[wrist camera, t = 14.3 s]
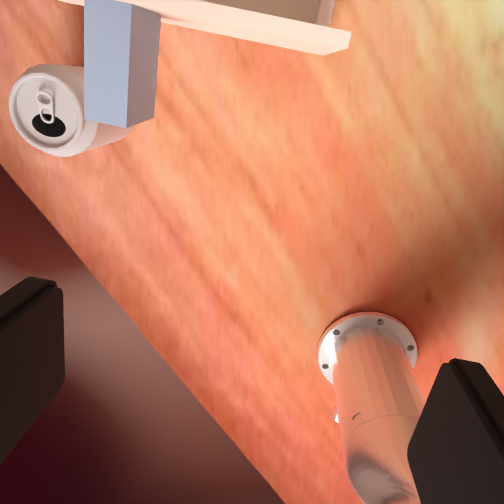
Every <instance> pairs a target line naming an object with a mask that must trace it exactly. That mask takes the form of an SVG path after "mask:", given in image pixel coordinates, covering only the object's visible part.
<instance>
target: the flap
mask: <svg viewBox="0 0 504 504" xmlns="http://www.w3.org/2000/svg"><path fill="white" fill-rule="evenodd" d="M60 1H63V2H67V3H71V4H76V5H81V6H84V119H85V120H90V121H94V122H99V123H104V124H109V125H113V126H118V127H123V128H128V127H131V126H133V125H136V124H138V123H141V122H144V121H146V120H149V119H151V118H154V106H155V93H156V79H157V65H158V52H159V38H160V24H161V22H163V23H168V24H173V25H178V26H182V27H187V28H192V29H197V30H202V31H207V32H211V33H216V34H221V35H226V36H231V37H235V38H240V39H245V40H250V41H255V42H260V43H264V44H269V45H274V46H279V47H284V48H289V49H293V50H298V51H303V52H308V53H313V54H318V55H322V56H323V55H326V54H330V53H333V52H337V51H340V50H344V49H347V48H348V45H349V41H350V37H351V33H352V32H350V31H345V30H340V29H335V28H331V27H326V26H321V25H316V24H311V23H306V22H302V21H297V20H292V19H287V18H282V17H277V16H272V15H268V14H263V13H258V12H253V11H248V10H243V9H239V8H234V7H229V6H224V5H219V4H214V3H210V2H205V1H200V0H60Z"/></svg>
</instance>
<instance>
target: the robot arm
mask: <svg viewBox="0 0 504 504" xmlns="http://www.w3.org/2000/svg"><path fill="white" fill-rule="evenodd" d="M335 329H336V330H335ZM417 353H418V351H417V346H416V342H415V340H414V338H413V336H412V334H411V332H410V331H409V329H408V328H407V327H406V326H405V325H404V324H403V323H402V322H400V321H399V320H397V319H396V318H394V317H392V316H389V315H387V314H383V313H379V312H358V313H354V314H350V315H347V316H345V317H343V318H340V319H339V320H337V321H336V322H334V323H333V324H332V325H331V326H330V327H328V328H327V329H326V331H325V332H324V334H323V335H322V337H321V339H320V341H319V344H318V349H317V356H318V364H319V367H320V370H321V372H322V374H323V375H324V377H325V378H326V379H327V380H328V381H329V382H330V383H331V384H332V385H333V386H334V393H335V400H336V407H335V410H334V412H333V415H332V416H333V419H334V420H335V421H336V422H337V423H339V427H340V434H341V441H342V448H343V455H344V462H345V468H346V472H347V476H348V478H349V481H350V483H351V485H352V487H353V488H354V490H355V492H356V493H357V495H358V496H359V497H360V499H361V500H362V501H363V502H364V504H504V395H503V394H502V393H501V391H500V390H499V388H498V387H497V385H496V384H495V383H494V381H493V380H492V378H491V377H490V375H489V374H488V373H487V371H486V370H485V368H484V367H483V366H482V365H481V364H480V363H477V362H472V361H467V360H461V359H456V358H454V359H452V360H451V361H449V363H443V364H442V365H441V367H440V369H439V372H438V374H437V377H436V379H435V382H434V384H433V386H432V389H431V391H430V394H429V396H428V398H427V399H426V397H425V395H424V393H423V390H422V388H421V386H420V383H419V381H418V379H417V376H416V374H415V372H414V367H415V364H416V361H417ZM64 378H65V363H64V319H63V292H62V289H60V288H57V284H56V282H54V281H52V280H47V279H42V278H36V277H28V278H26V279H24V280H23V281H21V282H20V283H18V284H17V285H15V286H14V287H12V288H11V289H9V290H8V291H6V292H5V293H3V294H2V295H0V464H1V463H2V462H3V460H4V459H5V458H6V457H7V455H8V454H9V453H10V452H11V450H12V449H13V448H14V447H15V445H16V444H17V443H18V442H19V440H20V439H21V438H22V437H23V435H24V434H25V433H26V432H27V430H28V429H29V428H30V427H31V425H32V424H33V423H34V422H35V420H36V419H37V418H38V417H39V415H40V414H41V413H42V412H43V410H44V409H45V408H46V407H47V405H48V404H49V403H50V402H51V401H52V399H53V398H54V397H55V395H56V394H57V393H58V392H59V390H60V389H61V387H62V385H63V382H64Z"/></svg>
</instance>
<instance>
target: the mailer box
mask: <svg viewBox="0 0 504 504" xmlns="http://www.w3.org/2000/svg"><path fill="white" fill-rule="evenodd" d="M200 1H205V2H210V3H214V4H219V5H224V6H229V7H234V8H239V9H243V10H248V11H253V12H258V13H263V14H268V15H272V16H277V17H282V18H287V19H292V20H297V21H302V22H306V23H311V24H316V25H321V26H326V27H329V26H330V22H331V18H332V13H333V9H334V5H335V0H200Z"/></svg>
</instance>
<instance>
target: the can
mask: <svg viewBox="0 0 504 504" xmlns="http://www.w3.org/2000/svg"><path fill="white" fill-rule="evenodd" d="M8 107H9V111H10V116H11V120H12V122H13V124H14V126H15V128H16V130H17V131H18V132H19V134H20V135H21V136H22V137H23V138H24V139H25V140H26V141H27V142H28V143H30V144H31V145H33V146H34V147H36V148H38V149H40V150H42V151H43V152H46V153H48V154H51V155H54V156H66V157H70V156H73V155H76V154H79V153H82V152H85V151H88V150H91V149H94V148H97V147H100V146H103V145H106V144H109V143H112V142H115V141H118V140H121V139H123V138H124V137H125V136H126V135H128V134H129V133H130V132H131V130H132V128H133V126H134V125H133V126H131V127H128V128H123V127H118V126H113V125H109V124H104V123H99V122H94V121H90V120H85V119H84V66H71V65H59V64H39V65H36V66H34V67H31V68H29V69H27V70H26V71H25V72H24V73H23V74H22V75H21V76H20V77H19V78H18V80H17V81H16V82H15V83H14V85H13V87H12V89H11V92H10V94H9V106H8Z"/></svg>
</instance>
